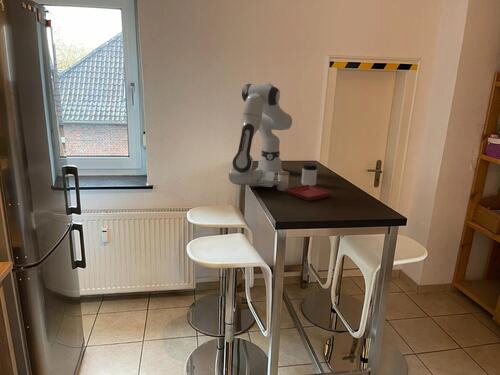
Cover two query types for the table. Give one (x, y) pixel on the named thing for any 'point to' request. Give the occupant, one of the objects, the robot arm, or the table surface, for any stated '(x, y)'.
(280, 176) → the canister
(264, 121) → the robot arm
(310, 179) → the jar
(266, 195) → the table surface
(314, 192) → the plant saucer
